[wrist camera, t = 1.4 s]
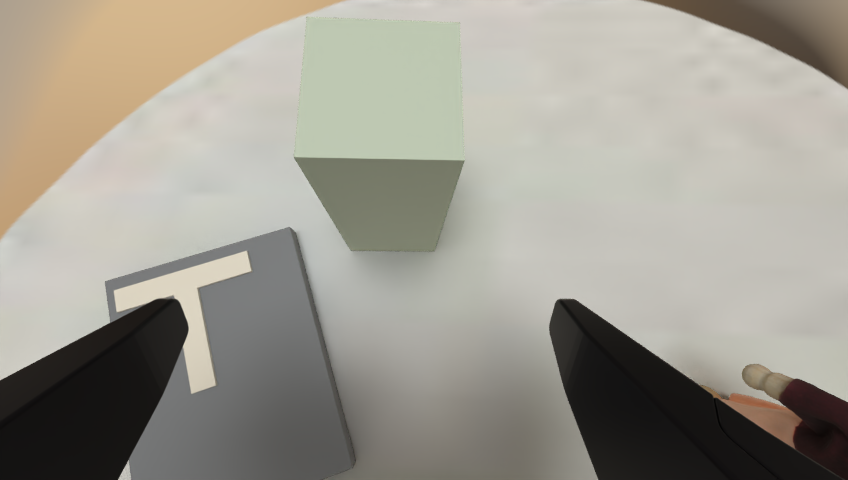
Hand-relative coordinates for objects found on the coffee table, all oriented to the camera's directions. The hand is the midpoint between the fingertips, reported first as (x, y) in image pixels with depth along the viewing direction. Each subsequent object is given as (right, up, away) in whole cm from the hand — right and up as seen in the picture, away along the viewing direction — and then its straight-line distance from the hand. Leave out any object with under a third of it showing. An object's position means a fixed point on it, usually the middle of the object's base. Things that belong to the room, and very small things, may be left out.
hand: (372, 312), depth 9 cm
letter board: (-9, -5, +11) cm, 16 cm away
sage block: (-1, +3, +14) cm, 15 cm away
